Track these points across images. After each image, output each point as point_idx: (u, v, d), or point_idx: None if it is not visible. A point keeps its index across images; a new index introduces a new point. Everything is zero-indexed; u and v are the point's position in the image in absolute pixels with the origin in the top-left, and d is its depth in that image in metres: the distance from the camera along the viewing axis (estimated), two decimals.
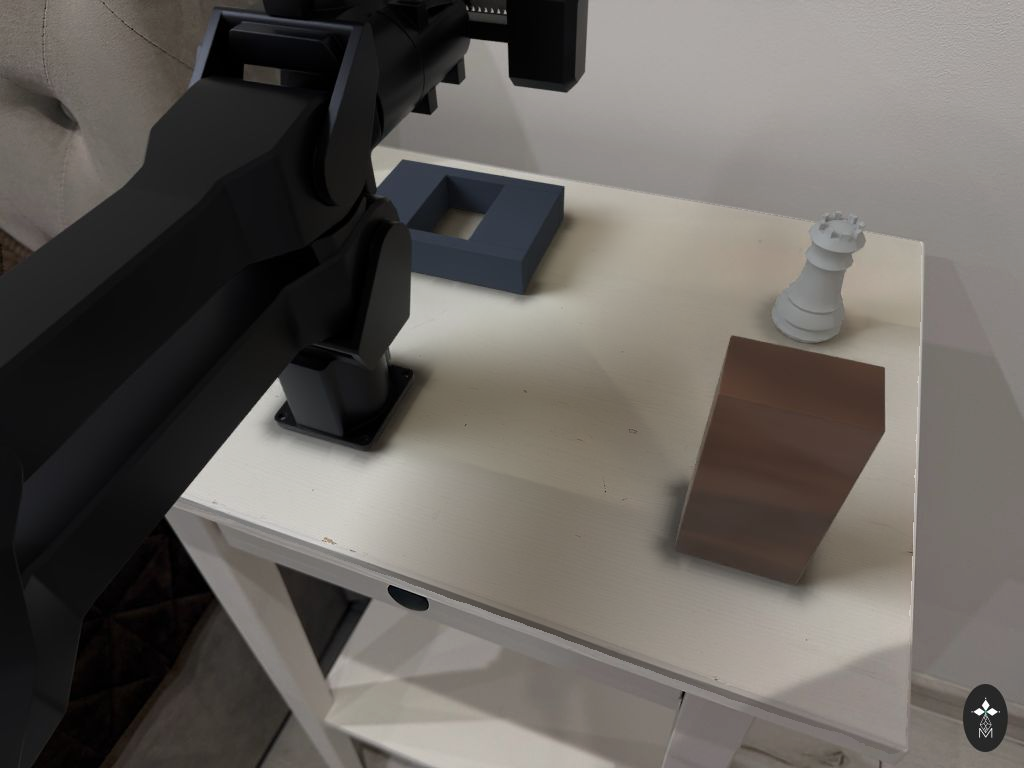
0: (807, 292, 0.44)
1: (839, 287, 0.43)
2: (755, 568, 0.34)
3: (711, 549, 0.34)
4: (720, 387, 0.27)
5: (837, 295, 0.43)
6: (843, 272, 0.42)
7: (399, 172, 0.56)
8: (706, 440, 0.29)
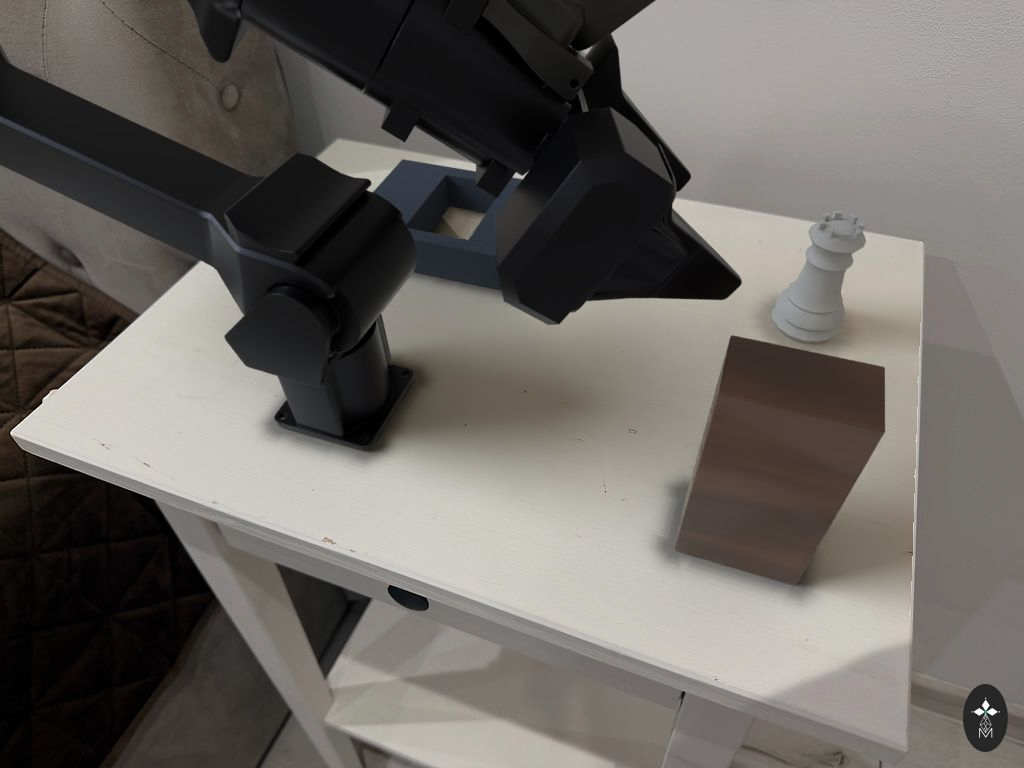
0: (807, 292, 0.44)
1: (839, 287, 0.43)
2: (755, 568, 0.34)
3: (711, 549, 0.34)
4: (720, 387, 0.27)
5: (837, 295, 0.43)
6: (843, 272, 0.42)
7: (399, 172, 0.56)
8: (706, 440, 0.29)
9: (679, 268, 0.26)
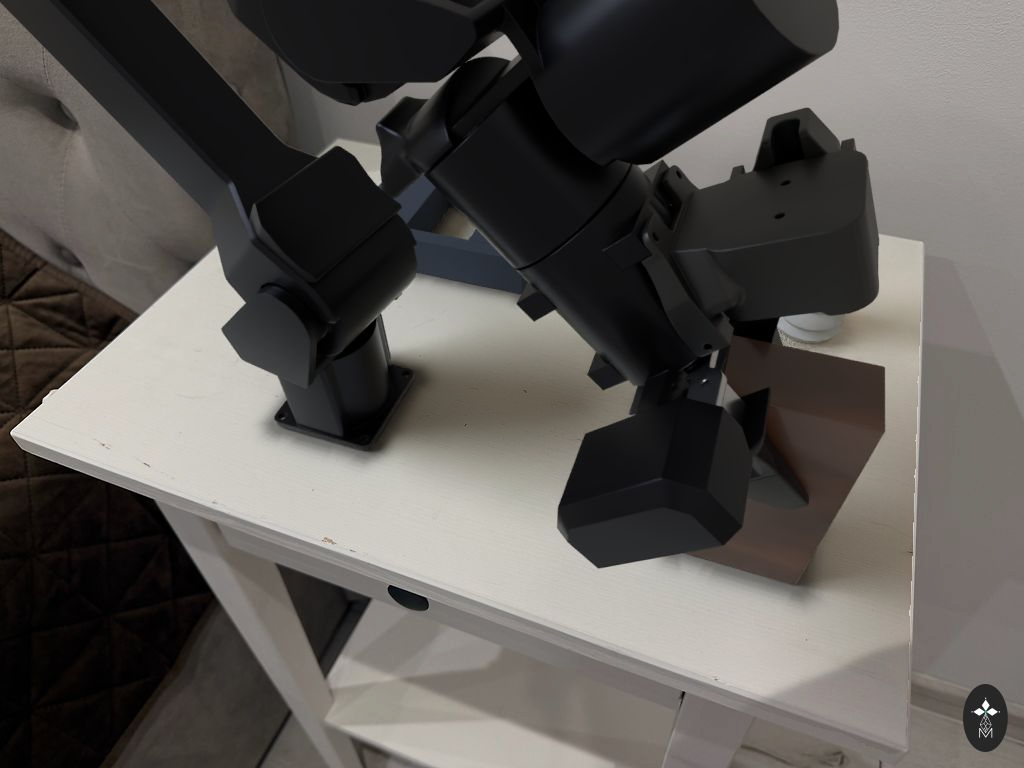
0: None
1: None
2: (755, 568, 0.34)
3: (711, 548, 0.34)
4: None
5: None
6: None
7: None
8: None
9: (751, 480, 0.28)
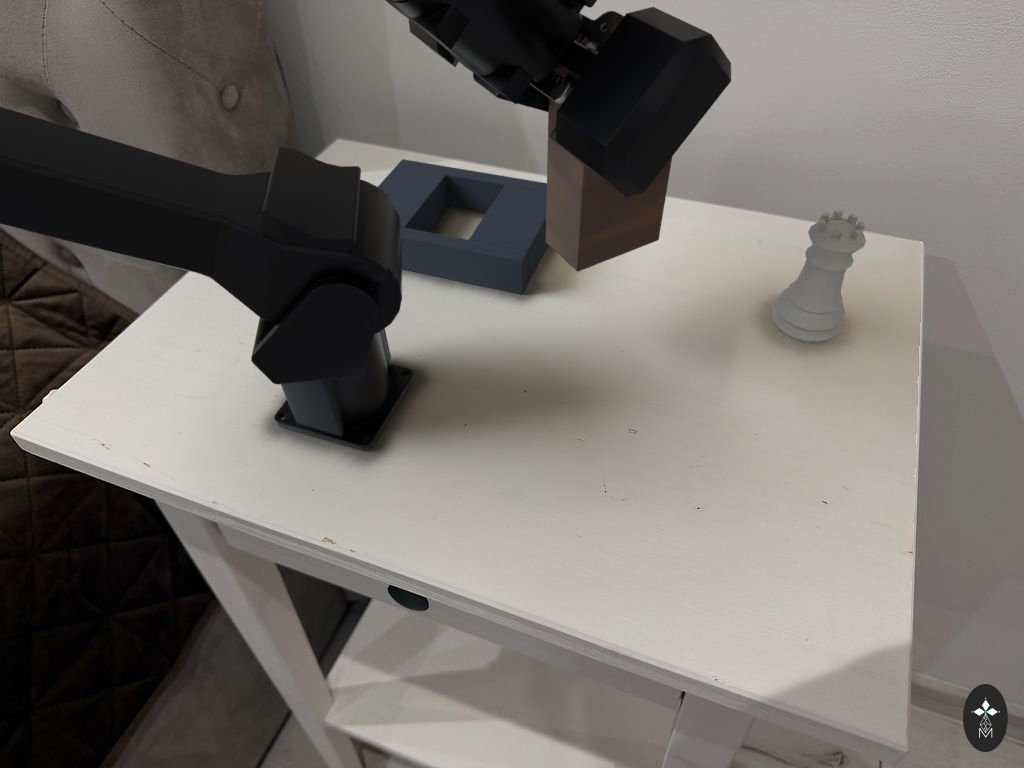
0: (807, 292, 0.44)
1: (839, 287, 0.43)
2: (633, 243, 0.41)
3: (603, 247, 0.40)
4: None
5: (837, 295, 0.43)
6: (843, 272, 0.42)
7: (399, 172, 0.56)
8: None
9: None
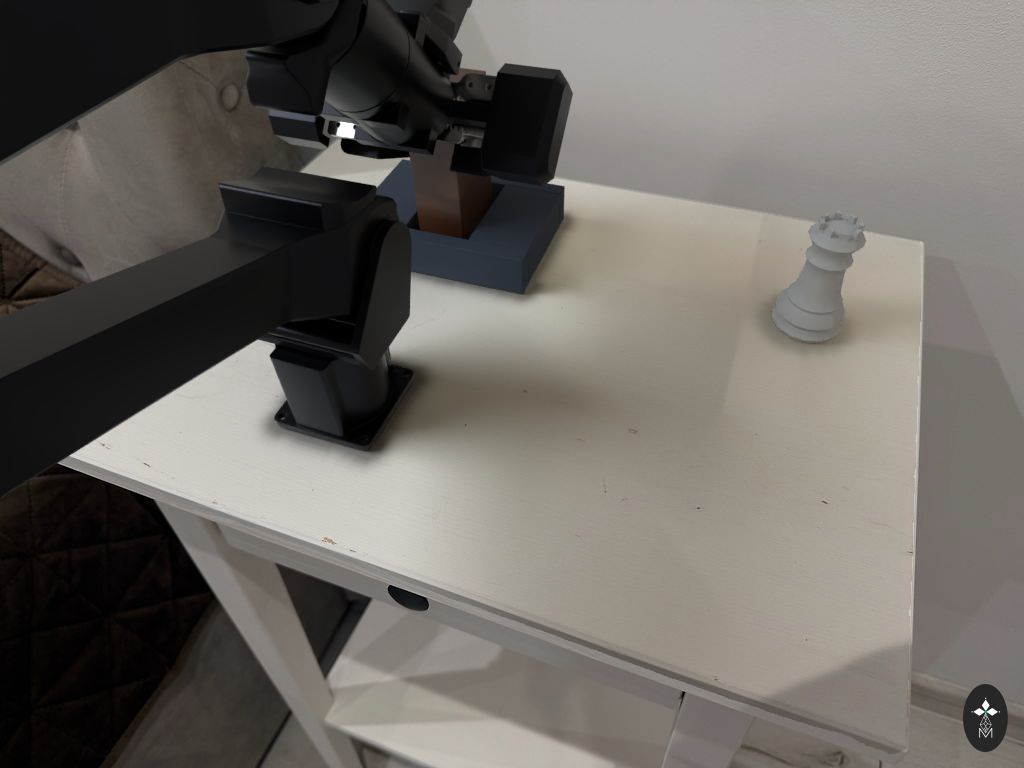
0: (807, 292, 0.44)
1: (839, 287, 0.43)
2: None
3: None
4: None
5: (837, 295, 0.43)
6: (843, 272, 0.42)
7: (399, 172, 0.56)
8: None
9: None
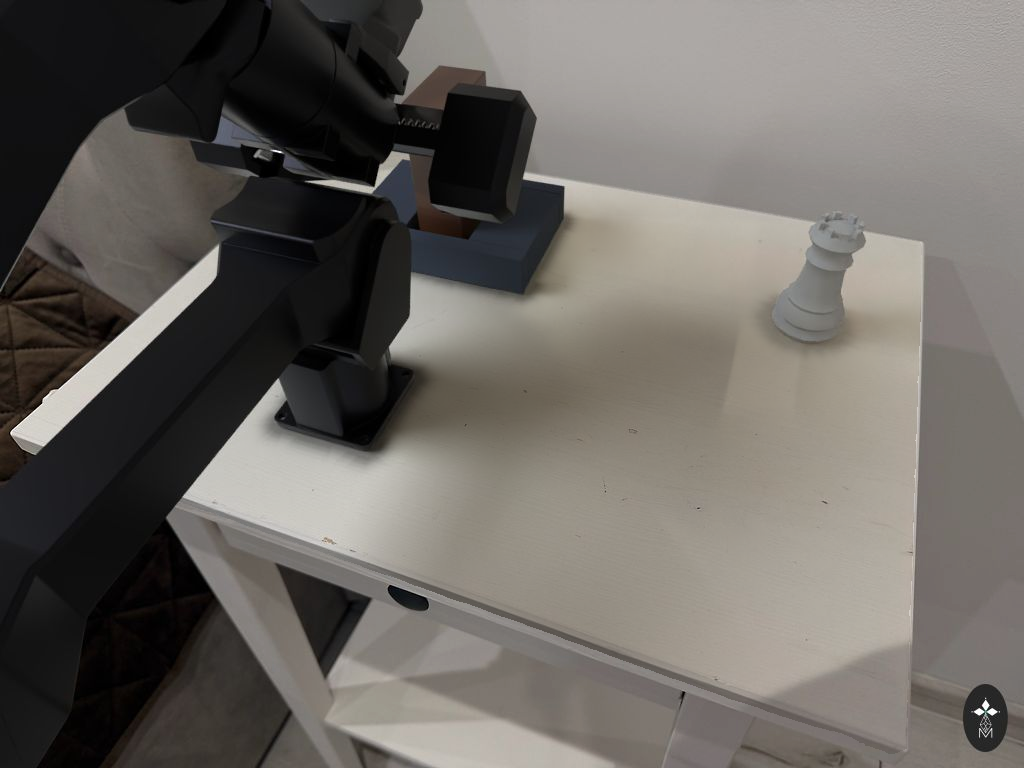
0: (807, 292, 0.44)
1: (839, 287, 0.43)
2: None
3: None
4: None
5: (837, 295, 0.43)
6: (843, 272, 0.42)
7: (399, 172, 0.56)
8: None
9: None
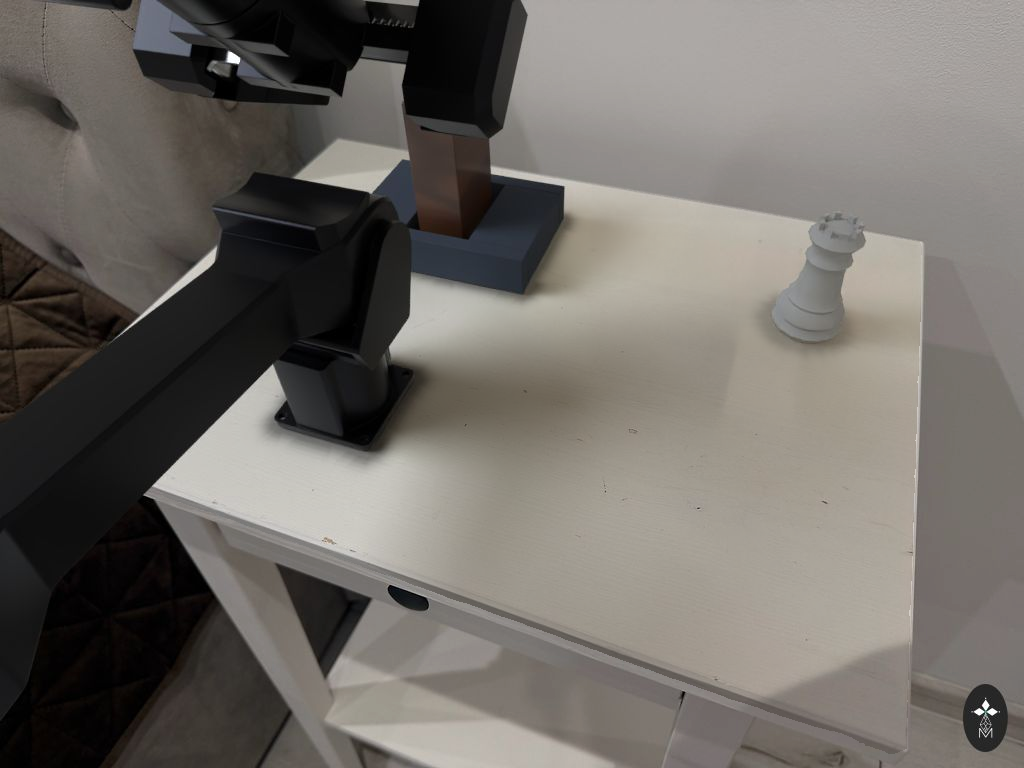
0: (807, 292, 0.44)
1: (839, 287, 0.43)
2: None
3: None
4: None
5: (837, 295, 0.43)
6: (843, 272, 0.42)
7: (399, 172, 0.56)
8: (455, 152, 0.46)
9: None
